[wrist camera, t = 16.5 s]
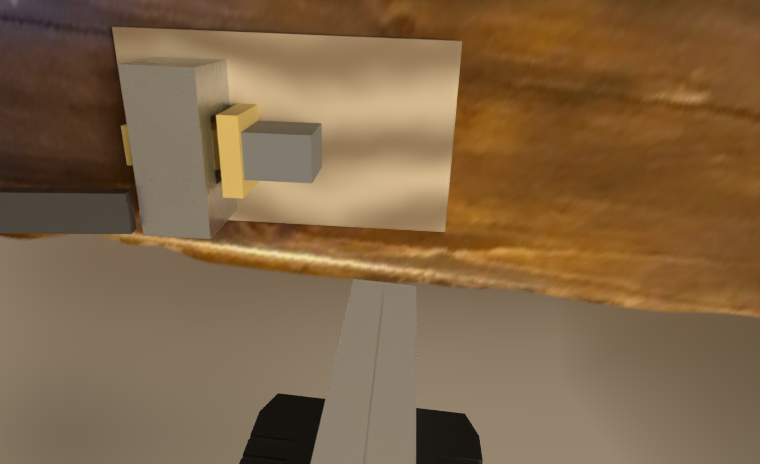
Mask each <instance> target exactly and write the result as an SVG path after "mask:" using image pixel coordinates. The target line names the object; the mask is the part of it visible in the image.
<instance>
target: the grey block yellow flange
mask: <svg viewBox="0 0 760 464" xmlns="http://www.w3.org/2000/svg"><path fill="white" fill-rule="evenodd" d="M216 121H217V122H211V132H212V143H213V155H214V166H215V169H216V170H221V178H222V190H223V197H224V198H244V197H245V196H246V195H247V194H248V193H249V192H250V191H251V190H252V189H253V188H254V186H255V185H256V184H257V183H258V182H259V181H274V182H294V183H313V181H314V180H315V178H316V176H317V175H318V173H319V171H320V170H321V168H322V123H303V122H281V121H258V106H257V104H236V105H234V106H232V107H230V108H228V109H226V110H224V111H222V112H220V113H218V114H216ZM121 131H122V137H123V144H124V150H125V156H126V162H127V165H133V161H132V154H131V148H130V141H129V134H128V128H127V124H124V125H122V126H121Z"/></svg>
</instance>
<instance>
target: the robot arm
mask: <svg viewBox="0 0 760 464" xmlns="http://www.w3.org/2000/svg"><path fill="white" fill-rule="evenodd" d="M239 464H482V453H481V447H480V440H479V435H478V434H477V432H476V431H475V429H474V428H473V426H472V424H471V423H470V421H469V420H468V418H467V417H466V415H465V414H462V413H454V412H445V411H437V410H428V409H419V408H416V286H410V285H401V284H392V283H383V282H375V281H366V280H357V279H353V284H352V288H351V292H350V296H349V301H348V305H347V309H346V314H345V318H344V322H343V327H342V331H341V335H340V339H339V344H338V348H337V352H336V357H335V361H334V365H333V369H332V373H331V378H330V382H329V386H328V391H327V395H326V399H320V398H311V397H303V396H295V395H287V394H277V395H276V396H275V397H274V398H273V399H272V400H271V401H270V402H269V403H268V404H267V405H266V406H265V407H264V408H263V409H262V410H261V411H260V412H259V415H258V417H257V420H256V423H255V425H254V427H253V430H252V432H251V436H250V439H249V440H248V443H247V445H246V448H245V451H244V453H243V458H242V459H241V461H240V463H239Z"/></svg>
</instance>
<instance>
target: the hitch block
mask: <svg viewBox="0 0 760 464" xmlns="http://www.w3.org/2000/svg"><path fill="white" fill-rule="evenodd" d="M118 68H119V74H120V81H121V88H122V94H123V101H124V108H125V114H126V121H127V128H128V134H129V141H130V148H131V154H132V161H133V168H134V174H135V181H136V188H137V194H138V201H139V208H140V214H141V221H142V228H143V234H144V235H150V236H167V237H185V238H202V239H211V238H212V237H213V236H214V235H215V234H216V233H217V231H218V230H219V229H220V228H221V227H222V226H223V225H224V224H225V223H226V222H227V220H228V219H229V218H230V217H231V216H232V215H233V214H234V213H235V212H236V210H237V198H224V197H223V190H222V178H221V170H216V169H215V166H214V155H213V143H212V132H211V121H210V117H211V116H213V115H215V114H217V113H219V112H221V111H223V110H225V109H227V108H229V107H230V101H229V88H228V74H227V60H219V59H196V58H173V57H158V58H152V59H146V60H140V61H134V62H128V63H122V64H118Z"/></svg>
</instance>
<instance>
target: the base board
mask: <svg viewBox="0 0 760 464" xmlns="http://www.w3.org/2000/svg"><path fill="white" fill-rule="evenodd" d="M112 31H113V38H114V44H115V51H116V58H117V64H122V63H128V62H134V61H140V60H146V59H152V58H158V57H173V58H196V59H219V60H227V74H228V88H229V101H230V107H232V106H234V105H236V104H257V106H258V121H281V122H303V123H322V168H321V170H320V171H319V173H318V175H317V176H316V178H315V180H314V181H313V183H294V182H274V181H259V182H258V183H257V184H256V185H255V186H254V188H253V189H252V190H251V191H250V192H249V193H248V194H247V195H246V196H245V197H244V198H237V210H236V212H235V213H234V214H233V215H232V216H231V217H230V218H229V219H228V220H238V221H256V222H275V223H293V224H311V225H329V226H347V227H365V228H383V229H401V230H419V231H437V232H445V225H446V214H447V203H448V192H449V181H450V170H451V159H452V149H453V138H454V127H455V116H456V105H457V94H458V83H459V72H460V61H461V50H462V41H459V40H435V39H411V38H386V37H362V36H338V35H313V34H289V33H265V32H240V31H216V30H191V29H167V28H143V27H112ZM118 71H119V68H118ZM119 78H120V74H119ZM120 84H121V81H120ZM121 91H122V88H121ZM122 98H123V94H122ZM123 104H124V101H123ZM230 107H229V108H230ZM227 109H228V108H227ZM225 110H226V109H225ZM124 111H125V108H124ZM223 111H224V110H223ZM221 112H222V111H221ZM219 113H220V112H219ZM217 114H218V113H217ZM125 117H126V114H125ZM210 121H211V122H217V121H216V114H215V115H213V116H211V117H210ZM126 124H127V121H126ZM133 171H134V168H133ZM134 177H135V174H134ZM135 184H136V181H135ZM136 191H137V188H136ZM137 197H138V194H137ZM138 204H139V201H138ZM139 211H140V208H139ZM140 215H141V214H140Z"/></svg>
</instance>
